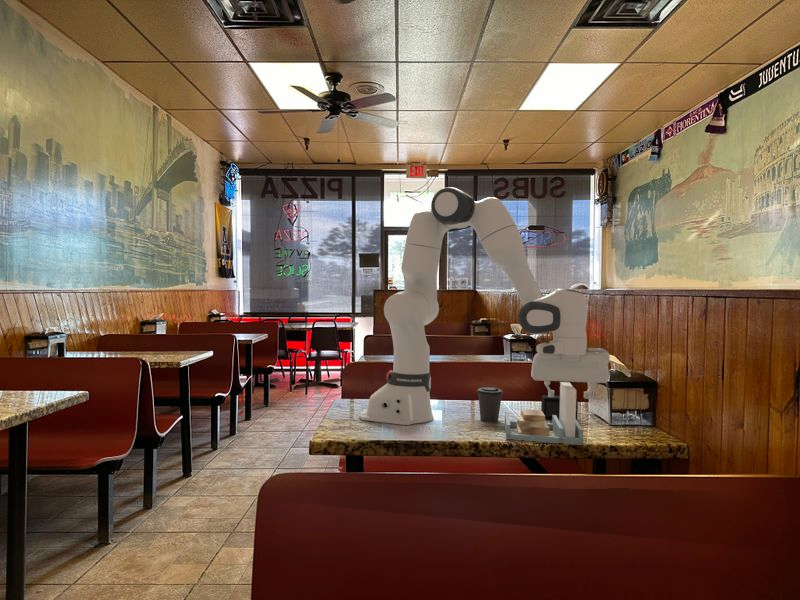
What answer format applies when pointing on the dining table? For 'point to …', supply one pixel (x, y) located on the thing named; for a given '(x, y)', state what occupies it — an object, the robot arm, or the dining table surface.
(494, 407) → the coffee cup
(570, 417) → the white flat slab
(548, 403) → the digital camera
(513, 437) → the slotted rack
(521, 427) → the offcut stack
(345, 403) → the dining table surface
